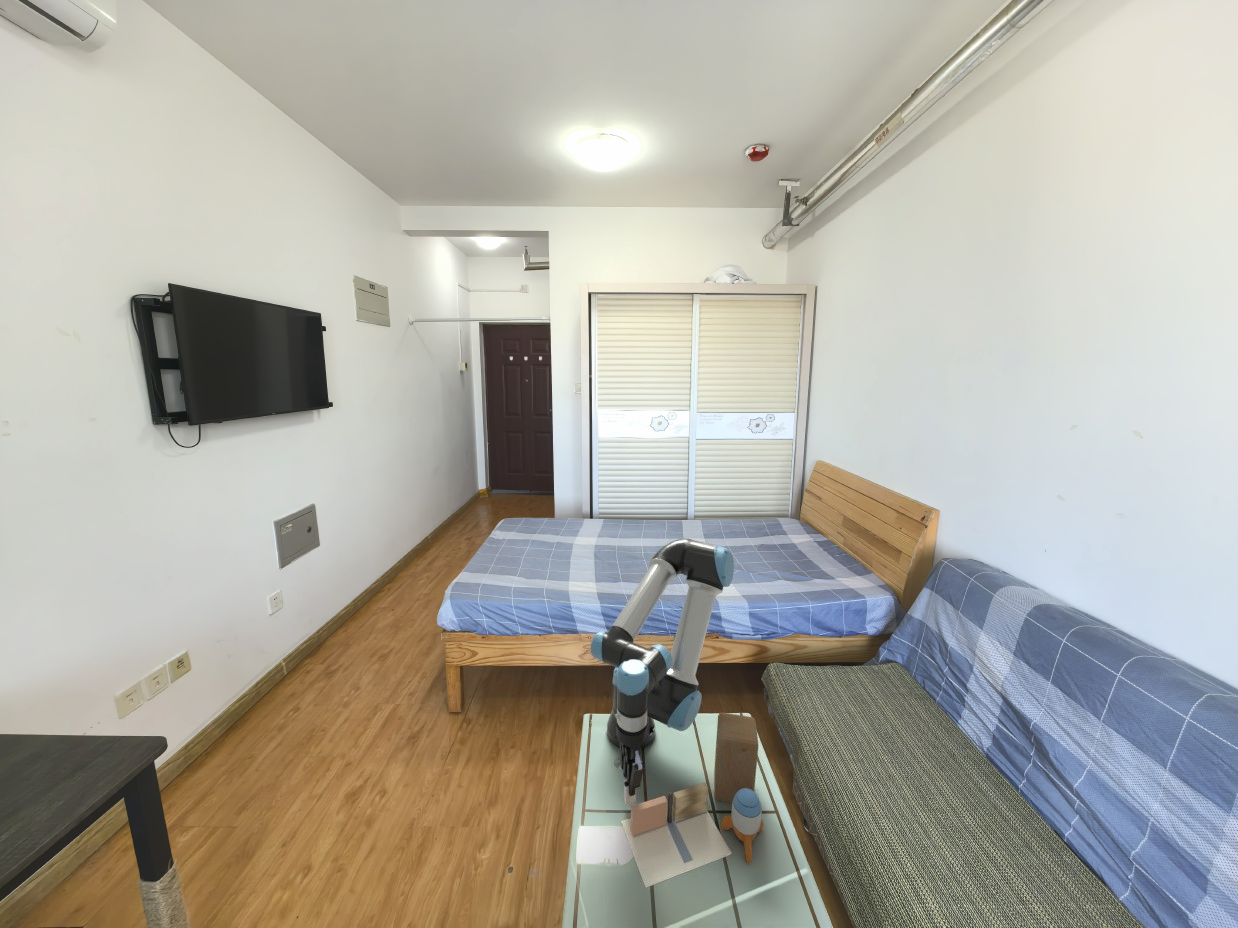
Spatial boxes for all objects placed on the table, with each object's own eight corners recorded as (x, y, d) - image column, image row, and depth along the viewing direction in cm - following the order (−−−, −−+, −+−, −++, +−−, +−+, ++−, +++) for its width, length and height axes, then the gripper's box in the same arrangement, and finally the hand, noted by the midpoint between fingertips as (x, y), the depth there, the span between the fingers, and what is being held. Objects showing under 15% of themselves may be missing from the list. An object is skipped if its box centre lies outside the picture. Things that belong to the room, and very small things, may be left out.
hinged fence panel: (663, 818, 116) (664, 795, 115) (666, 824, 115) (667, 800, 114) (630, 829, 114) (630, 806, 112) (632, 835, 112) (633, 812, 111)
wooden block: (753, 809, 120) (759, 744, 116) (713, 802, 122) (718, 737, 118) (750, 777, 130) (755, 715, 125) (714, 770, 132) (718, 709, 127)
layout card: (621, 822, 116) (621, 820, 116) (698, 796, 123) (698, 794, 123) (645, 889, 101) (645, 886, 101) (731, 855, 109) (731, 853, 109)
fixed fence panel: (668, 825, 115) (669, 797, 114) (665, 819, 117) (667, 791, 115) (706, 812, 119) (708, 784, 117) (703, 806, 120) (705, 779, 119)
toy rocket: (714, 835, 114) (721, 775, 114) (748, 825, 119) (754, 767, 119) (741, 870, 105) (749, 805, 105) (777, 858, 110) (784, 795, 110)
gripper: (609, 707, 119) (608, 783, 124) (626, 745, 107) (624, 828, 112) (636, 701, 122) (634, 776, 127) (656, 737, 110) (653, 819, 115)
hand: (629, 800), depth 120 cm, fingers closed
